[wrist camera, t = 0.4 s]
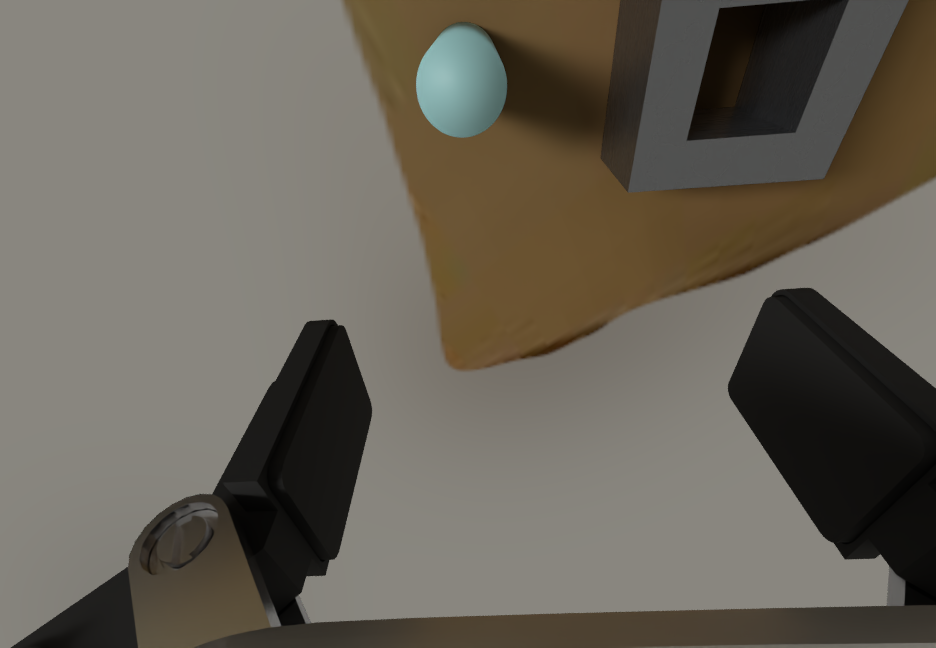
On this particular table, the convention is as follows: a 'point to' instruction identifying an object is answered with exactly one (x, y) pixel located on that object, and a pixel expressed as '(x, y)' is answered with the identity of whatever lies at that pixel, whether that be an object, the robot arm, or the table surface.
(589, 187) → the table surface
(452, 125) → the plug
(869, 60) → the socket
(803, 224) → the table surface
